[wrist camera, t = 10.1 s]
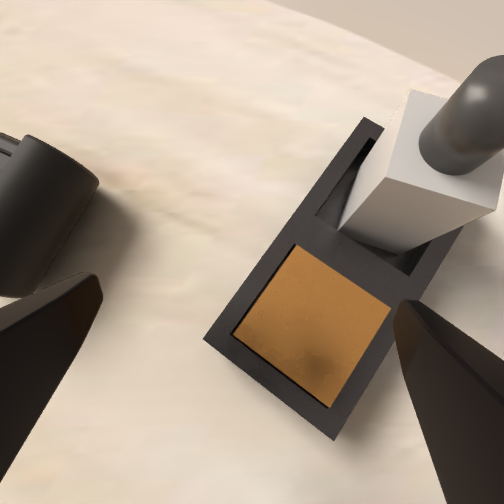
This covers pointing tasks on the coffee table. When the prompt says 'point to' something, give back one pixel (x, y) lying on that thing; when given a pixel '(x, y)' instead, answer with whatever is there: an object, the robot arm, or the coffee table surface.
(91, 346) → the coffee table surface
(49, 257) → the end cap
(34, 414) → the robot arm
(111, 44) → the coffee table surface
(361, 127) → the two-compartment sponge tray
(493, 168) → the white soap bottle
